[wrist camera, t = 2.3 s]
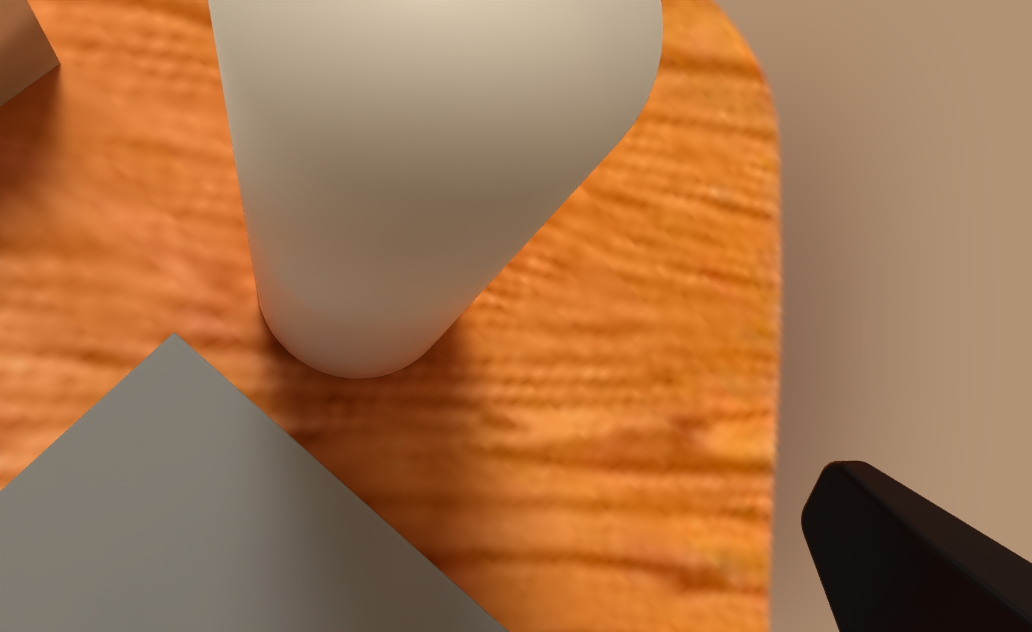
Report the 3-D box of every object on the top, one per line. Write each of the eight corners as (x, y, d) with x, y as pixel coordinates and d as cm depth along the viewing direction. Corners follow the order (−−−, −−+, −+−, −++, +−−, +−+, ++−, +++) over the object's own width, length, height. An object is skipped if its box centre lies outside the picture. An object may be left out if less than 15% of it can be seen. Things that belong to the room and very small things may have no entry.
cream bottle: (491, 282, 21) (739, 11, 9) (363, 420, 19) (472, 299, 8) (353, 154, 21) (432, -285, 9) (212, 283, 19) (88, -56, 7)
